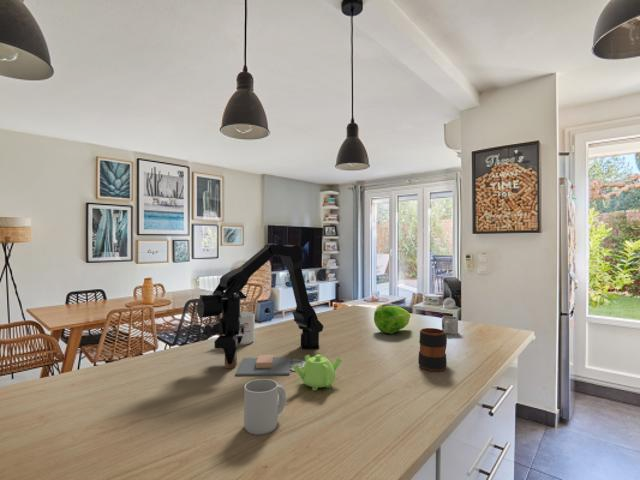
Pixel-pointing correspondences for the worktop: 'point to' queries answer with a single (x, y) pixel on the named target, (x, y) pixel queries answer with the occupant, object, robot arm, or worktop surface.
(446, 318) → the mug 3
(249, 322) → the mug
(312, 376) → the teapot
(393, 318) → the lettuce
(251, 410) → the cup
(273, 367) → the mat
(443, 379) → the worktop surface
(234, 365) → the walnut block
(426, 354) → the mug
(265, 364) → the tile
